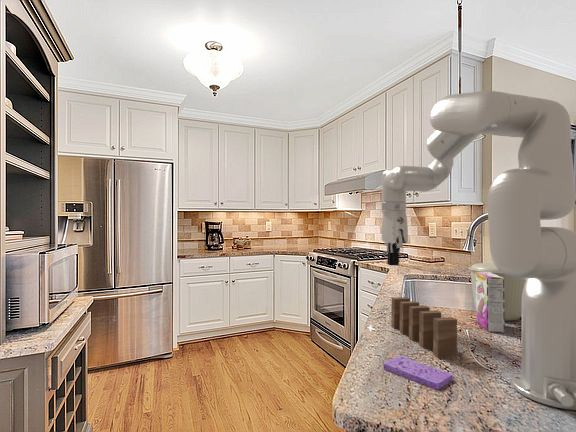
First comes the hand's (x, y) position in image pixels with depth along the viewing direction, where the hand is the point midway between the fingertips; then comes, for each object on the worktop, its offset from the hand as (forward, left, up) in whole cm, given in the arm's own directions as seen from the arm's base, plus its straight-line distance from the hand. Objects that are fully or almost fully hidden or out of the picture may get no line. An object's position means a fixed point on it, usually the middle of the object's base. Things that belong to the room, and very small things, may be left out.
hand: (393, 264), depth 113 cm
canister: (+18, -35, -19) cm, 43 cm away
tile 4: (-10, -5, -19) cm, 21 cm away
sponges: (-38, -5, -19) cm, 43 cm away
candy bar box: (+4, -29, -19) cm, 35 cm away
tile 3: (-15, -7, -19) cm, 25 cm away
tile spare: (-26, -12, -19) cm, 34 cm away
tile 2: (-20, -9, -19) cm, 29 cm away
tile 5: (-5, -2, -19) cm, 19 cm away
